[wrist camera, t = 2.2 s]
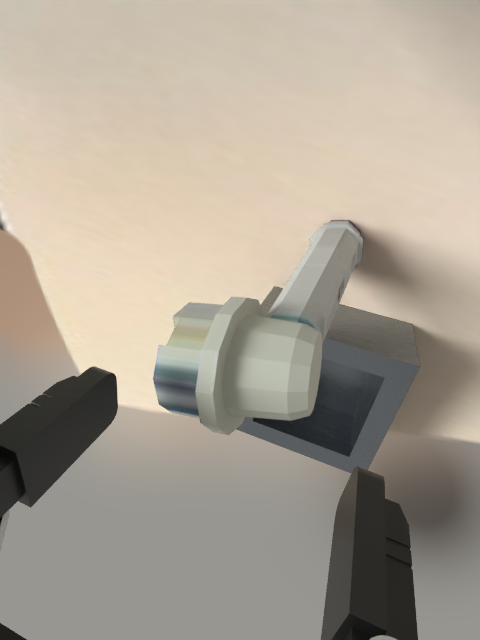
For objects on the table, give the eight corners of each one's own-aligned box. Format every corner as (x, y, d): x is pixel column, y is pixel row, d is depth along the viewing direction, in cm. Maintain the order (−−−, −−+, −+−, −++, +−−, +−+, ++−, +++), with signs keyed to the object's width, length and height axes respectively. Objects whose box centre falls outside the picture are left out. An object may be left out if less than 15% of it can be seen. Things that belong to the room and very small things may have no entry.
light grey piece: (361, 267, 33) (330, 491, 12) (291, 265, 35) (162, 449, 14) (366, 210, 30) (338, 361, 10) (291, 212, 33) (135, 337, 12)
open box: (274, 286, 37) (252, 316, 30) (412, 324, 33) (419, 366, 27) (253, 386, 44) (232, 427, 37) (365, 425, 40) (363, 478, 34)
